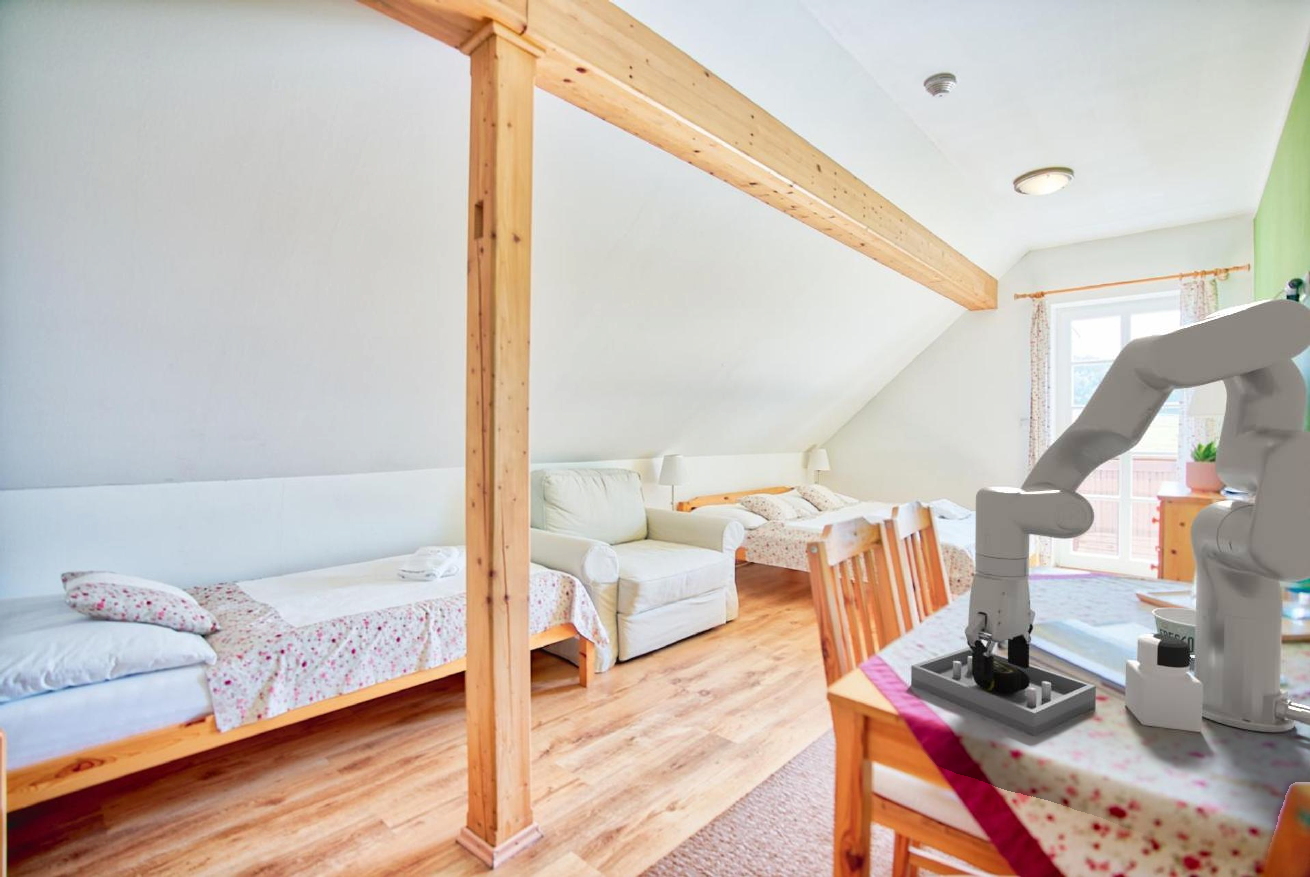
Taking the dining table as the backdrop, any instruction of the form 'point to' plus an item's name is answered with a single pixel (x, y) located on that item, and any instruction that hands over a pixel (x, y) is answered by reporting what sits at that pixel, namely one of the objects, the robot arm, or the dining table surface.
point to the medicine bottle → (1164, 684)
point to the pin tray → (1024, 710)
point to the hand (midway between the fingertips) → (1000, 672)
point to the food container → (1177, 624)
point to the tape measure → (1005, 679)
